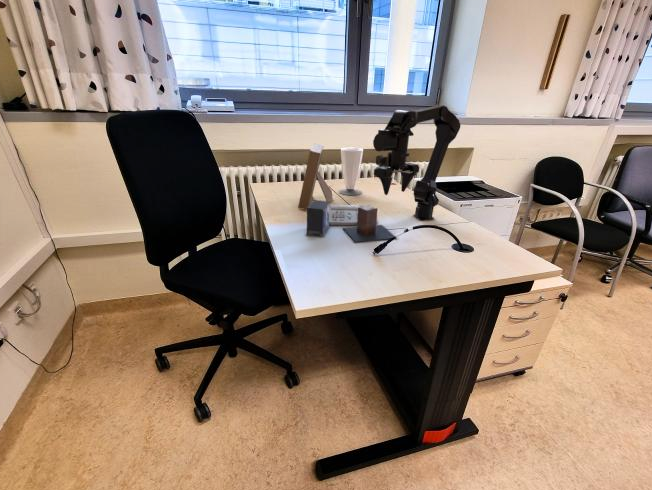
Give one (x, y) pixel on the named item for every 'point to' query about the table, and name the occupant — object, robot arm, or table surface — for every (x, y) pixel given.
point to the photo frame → (313, 178)
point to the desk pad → (378, 235)
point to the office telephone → (343, 215)
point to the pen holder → (366, 220)
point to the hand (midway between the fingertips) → (394, 193)
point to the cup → (351, 168)
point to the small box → (317, 218)
